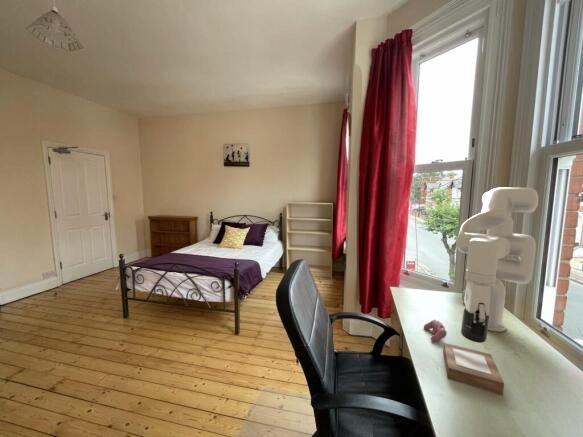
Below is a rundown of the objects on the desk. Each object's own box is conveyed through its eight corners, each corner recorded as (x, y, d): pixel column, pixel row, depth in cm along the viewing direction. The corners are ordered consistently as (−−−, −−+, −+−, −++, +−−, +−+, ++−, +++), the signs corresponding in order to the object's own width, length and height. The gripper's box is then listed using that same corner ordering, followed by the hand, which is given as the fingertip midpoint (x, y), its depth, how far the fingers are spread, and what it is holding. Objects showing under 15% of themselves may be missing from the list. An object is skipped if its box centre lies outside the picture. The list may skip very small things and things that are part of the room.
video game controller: (441, 346, 97) (451, 333, 95) (430, 340, 97) (440, 327, 96) (431, 332, 106) (440, 319, 105) (422, 326, 107) (430, 314, 105)
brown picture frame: (443, 352, 91) (444, 342, 91) (489, 364, 85) (491, 353, 84) (447, 378, 79) (448, 367, 78) (502, 395, 73) (504, 382, 72)
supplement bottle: (464, 340, 78) (468, 306, 76) (458, 329, 84) (461, 296, 83) (490, 345, 76) (494, 309, 74) (481, 333, 82) (485, 300, 80)
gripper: (461, 266, 87) (456, 313, 89) (471, 284, 71) (465, 340, 74) (487, 270, 83) (481, 318, 86) (504, 289, 68) (496, 347, 70)
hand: (474, 327), depth 80 cm, fingers closed on supplement bottle, 6 cm apart
